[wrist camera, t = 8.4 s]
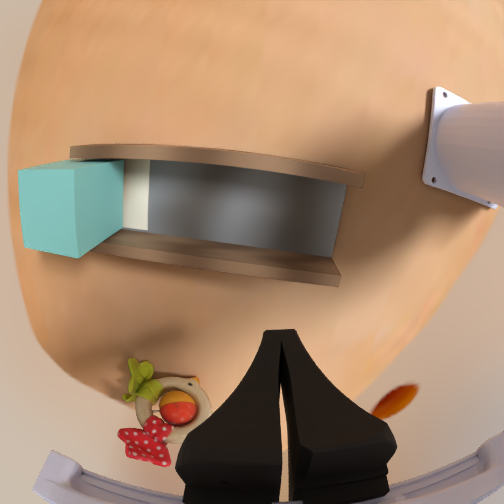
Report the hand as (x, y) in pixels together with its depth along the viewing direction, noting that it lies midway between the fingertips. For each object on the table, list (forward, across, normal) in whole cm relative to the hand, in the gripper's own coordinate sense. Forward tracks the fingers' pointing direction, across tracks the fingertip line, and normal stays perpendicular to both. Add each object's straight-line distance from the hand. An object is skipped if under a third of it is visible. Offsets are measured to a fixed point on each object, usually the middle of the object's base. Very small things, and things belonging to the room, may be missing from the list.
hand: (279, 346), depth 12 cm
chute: (+9, +4, -5) cm, 11 cm away
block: (+8, +13, -6) cm, 17 cm away
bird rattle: (+10, +10, +12) cm, 19 cm away
